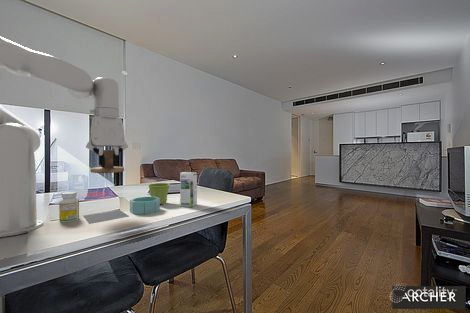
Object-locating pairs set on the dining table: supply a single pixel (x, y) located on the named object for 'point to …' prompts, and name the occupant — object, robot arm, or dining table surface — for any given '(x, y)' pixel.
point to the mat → (105, 216)
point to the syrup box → (188, 189)
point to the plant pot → (159, 191)
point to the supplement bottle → (69, 207)
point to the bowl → (144, 205)
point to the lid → (107, 164)
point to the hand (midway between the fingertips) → (108, 166)
